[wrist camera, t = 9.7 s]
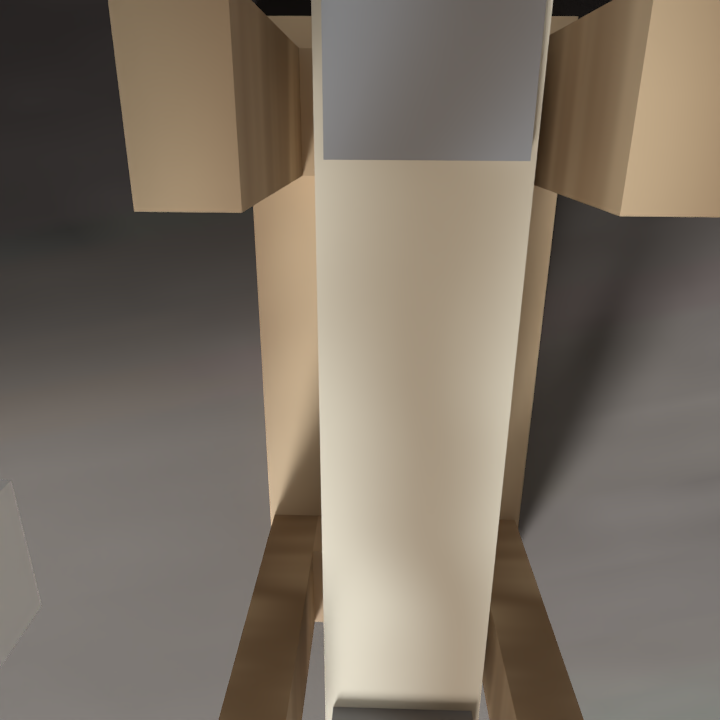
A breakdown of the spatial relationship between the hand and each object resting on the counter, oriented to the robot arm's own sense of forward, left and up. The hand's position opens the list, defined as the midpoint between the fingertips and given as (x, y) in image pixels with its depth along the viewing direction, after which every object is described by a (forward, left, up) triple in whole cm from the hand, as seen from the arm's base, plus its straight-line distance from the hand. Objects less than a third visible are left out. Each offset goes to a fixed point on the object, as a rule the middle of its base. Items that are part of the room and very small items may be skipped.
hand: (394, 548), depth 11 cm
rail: (0, 0, -8) cm, 8 cm away
